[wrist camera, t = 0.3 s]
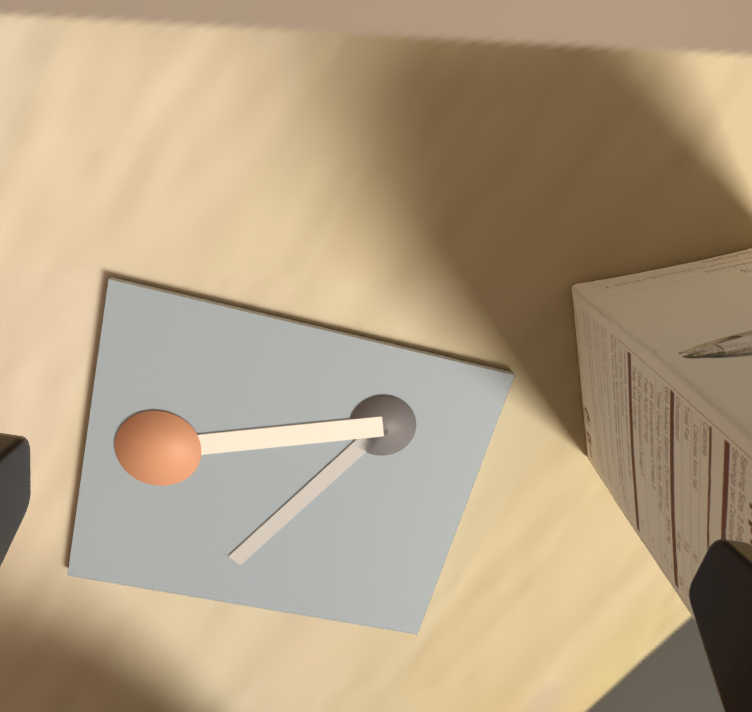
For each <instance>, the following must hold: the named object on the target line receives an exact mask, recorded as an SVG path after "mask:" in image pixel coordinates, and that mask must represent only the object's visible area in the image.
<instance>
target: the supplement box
mask: <svg viewBox="0 0 752 712" xmlns="http://www.w3.org/2000/svg"><path fill="white" fill-rule="evenodd" d="M572 297H573V305H574V317H575V328H576V340H577V348H578V359H579V371H580V382H581V392H582V404H583V414H584V425H585V432H586V445H587V454H588V459H589V461H590V462H591V464H592V466H593V467H594V469H595V470H596V472H597V473H598V475H599V476H600V478H601V479H602V481H603V482H604V484H605V485H606V487H607V488H608V490H609V491H610V493H611V495H612V496H613V498H614V500H615V501H616V503H617V505H618V506H619V508H620V509H621V510H622V512H623V513H624V515H625V517H626V518H627V520H628V521H629V522H630V524H631V526H632V527H633V529H634V530H635V532H636V533H637V535H638V536H639V538H640V539H641V540H642V542H643V543H644V545H645V546H646V548H647V549H648V551H649V552H650V554H651V555H652V557H653V558H654V560H655V561H656V563H657V564H658V566H659V567H660V569H661V570H662V572H663V573H664V575H665V576H666V578H667V579H668V581H669V582H670V583H671V585H672V586H673V588H674V589H675V591H676V592H677V594H678V595H679V597H680V598H681V600H682V601H683V603H684V604H685V606H686V607H687V609H688V610H689V612H690V613H691V615H692V616H693V618H694V619H695V617H694V614H693V611H692V607H691V604H690V599H689V589H690V584H691V582H692V580H693V578H694V576H695V574H696V572H697V570H698V568H699V566H700V564H701V562H702V560H703V558H704V556H705V554H706V552H707V550H708V548H709V547H710V545H711V544H712V543H713V542H714V541H716V540H719V539H725V540H732V541H739V542H745V543H748V544H750V545H752V248H750V249H746V250H742V251H738V252H734V253H730V254H726V255H722V256H717V257H713V258H709V259H704V260H700V261H695V262H690V263H686V264H681V265H676V266H671V267H666V268H661V269H656V270H650V271H645V272H641V273H635V274H630V275H625V276H620V277H614V278H609V279H603V280H597V281H591V282H585V283H578V284H574V285H573V286H572ZM695 621H696V620H695Z"/></svg>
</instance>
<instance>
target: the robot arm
mask: <svg viewBox="0 0 752 712" xmlns="http://www.w3.org/2000/svg"><path fill="white" fill-rule="evenodd" d="M29 500H30V446H29V442H28V440H27V439H26V438H25V437H23V436H17V435H10V434H4V433H0V566H1V564H2V562H3V560H4V558H5V555H6V553H7V551H8V549H9V547H10V545H11V543H12V541H13V539H14V536H15V534H16V532H17V530H18V528H19V526H20V524H21V522H22V519H23V517H24V515H25V513H26V511H27V507H28V504H29ZM689 599H690V604H691V607H692V611H693V614H694V617H695V620H696V623H697V627H698V630H699V633H700V636H701V639H702V643H703V646H704V649H705V652H706V655H707V658H708V662H709V665H710V668H711V671H712V675H713V678H714V681H715V684H716V687H717V691H718V694H719V697H720V699H721V702H722V705H723V708H724V711H725V712H752V545H750V544H748V543H745V542H739V541H732V540H725V539H719V540H716V541H714V542H713V543H712V544H711V545H710V547H709V548H708V550H707V552H706V554H705V556H704V558H703V560H702V562H701V564H700V566H699V568H698V570H697V572H696V574H695V576H694V578H693V580H692V582H691V584H690V589H689Z"/></svg>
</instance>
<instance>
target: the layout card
mask: <svg viewBox="0 0 752 712" xmlns="http://www.w3.org/2000/svg"><path fill="white" fill-rule="evenodd" d="M514 376H515V375H514V374H513V372H510V371H506V370H502V369H497V368H493V367H489V366H485V365H480V364H476V363H472V362H468V361H464V360H459V359H455V358H451V357H447V356H443V355H438V354H434V353H430V352H426V351H421V350H417V349H413V348H409V347H405V346H400V345H396V344H392V343H388V342H384V341H379V340H375V339H371V338H367V337H362V336H358V335H354V334H350V333H346V332H341V331H337V330H333V329H329V328H325V327H320V326H316V325H312V324H308V323H303V322H299V321H295V320H291V319H287V318H282V317H278V316H274V315H270V314H266V313H261V312H257V311H253V310H249V309H245V308H240V307H236V306H232V305H228V304H223V303H219V302H215V301H211V300H207V299H202V298H198V297H194V296H190V295H186V294H181V293H177V292H173V291H169V290H164V289H160V288H156V287H152V286H148V285H143V284H139V283H135V282H131V281H127V280H122V279H118V278H114V277H111V278H109V279H108V287H107V294H106V301H105V308H104V316H103V323H102V330H101V337H100V345H99V352H98V359H97V366H96V373H95V381H94V388H93V395H92V402H91V410H90V417H89V424H88V431H87V438H86V446H85V453H84V460H83V467H82V475H81V482H80V489H79V496H78V504H77V511H76V518H75V525H74V532H73V540H72V547H71V554H70V561H69V569H68V576H73V577H79V578H85V579H91V580H97V581H103V582H109V583H115V584H120V585H126V586H132V587H138V588H144V589H150V590H156V591H162V592H168V593H174V594H180V595H186V596H191V597H197V598H203V599H209V600H215V601H221V602H227V603H233V604H239V605H245V606H251V607H257V608H263V609H268V610H274V611H280V612H286V613H292V614H298V615H304V616H310V617H316V618H322V619H328V620H334V621H339V622H345V623H351V624H357V625H363V626H369V627H375V628H381V629H387V630H393V631H399V632H405V633H411V634H416V635H417V634H418V632H419V629H420V626H421V624H422V621H423V618H424V616H425V613H426V610H427V608H428V605H429V602H430V600H431V597H432V594H433V592H434V589H435V586H436V584H437V581H438V578H439V576H440V573H441V570H442V568H443V565H444V562H445V560H446V557H447V554H448V552H449V549H450V546H451V544H452V541H453V538H454V536H455V533H456V530H457V528H458V525H459V522H460V520H461V517H462V514H463V512H464V509H465V506H466V504H467V501H468V498H469V496H470V493H471V490H472V488H473V485H474V482H475V480H476V477H477V474H478V472H479V469H480V466H481V464H482V461H483V458H484V456H485V453H486V450H487V448H488V445H489V442H490V440H491V437H492V434H493V432H494V429H495V426H496V424H497V421H498V418H499V416H500V413H501V410H502V408H503V405H504V403H505V400H506V397H507V395H508V392H509V389H510V387H511V384H512V381H513V379H514Z"/></svg>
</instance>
